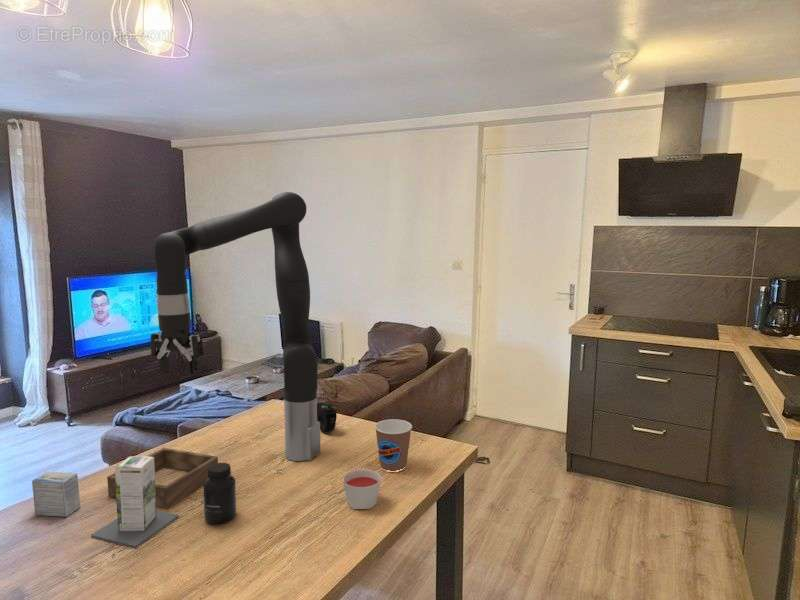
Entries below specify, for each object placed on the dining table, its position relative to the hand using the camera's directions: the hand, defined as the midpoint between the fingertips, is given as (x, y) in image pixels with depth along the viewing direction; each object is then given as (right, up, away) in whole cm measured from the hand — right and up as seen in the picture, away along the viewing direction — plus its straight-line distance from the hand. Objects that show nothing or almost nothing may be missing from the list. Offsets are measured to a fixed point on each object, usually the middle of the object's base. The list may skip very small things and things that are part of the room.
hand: (178, 373), depth 128 cm
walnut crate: (-3, -28, -1) cm, 29 cm away
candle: (+48, -30, -10) cm, 58 cm away
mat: (0, -31, -20) cm, 36 cm away
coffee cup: (+55, -28, +9) cm, 63 cm away
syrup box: (0, -30, -20) cm, 36 cm away
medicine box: (-22, -30, -14) cm, 40 cm away
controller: (+33, -24, +35) cm, 54 cm away
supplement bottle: (+17, -30, -16) cm, 38 cm away
